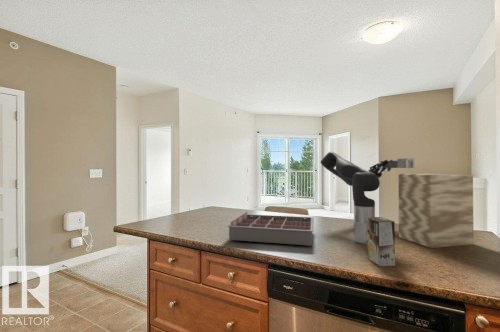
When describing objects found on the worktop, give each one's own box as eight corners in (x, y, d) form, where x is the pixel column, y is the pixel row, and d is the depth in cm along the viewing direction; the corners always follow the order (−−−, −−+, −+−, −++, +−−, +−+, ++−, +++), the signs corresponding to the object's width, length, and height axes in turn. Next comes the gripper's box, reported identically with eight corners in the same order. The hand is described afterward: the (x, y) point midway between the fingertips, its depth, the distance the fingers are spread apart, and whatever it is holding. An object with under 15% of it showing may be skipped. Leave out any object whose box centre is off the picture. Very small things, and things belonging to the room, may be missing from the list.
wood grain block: (473, 244, 117) (472, 174, 117) (431, 247, 111) (430, 174, 112) (436, 234, 134) (436, 173, 135) (398, 237, 129) (398, 173, 129)
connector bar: (414, 167, 132) (414, 158, 132) (406, 167, 131) (406, 158, 131) (386, 167, 152) (386, 159, 152) (379, 167, 151) (379, 159, 151)
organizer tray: (313, 249, 110) (313, 226, 110) (226, 243, 120) (226, 222, 120) (313, 231, 141) (313, 213, 141) (244, 227, 151) (244, 211, 151)
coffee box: (396, 265, 91) (395, 221, 91) (379, 266, 90) (379, 221, 91) (380, 257, 100) (380, 216, 100) (365, 257, 100) (365, 216, 100)
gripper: (360, 170, 161) (376, 155, 146) (379, 170, 164) (397, 155, 149) (364, 180, 157) (381, 166, 142) (383, 180, 160) (402, 166, 145)
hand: (389, 161), depth 146 cm, fingers closed on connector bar, 3 cm apart
